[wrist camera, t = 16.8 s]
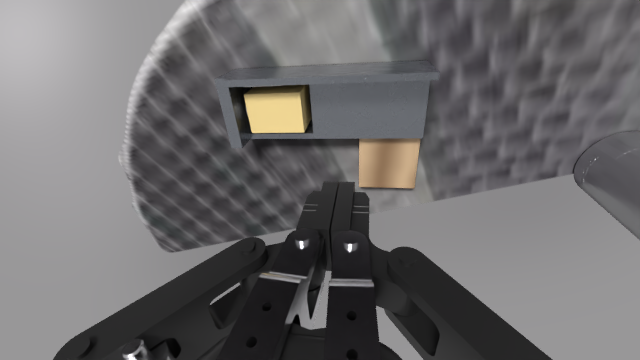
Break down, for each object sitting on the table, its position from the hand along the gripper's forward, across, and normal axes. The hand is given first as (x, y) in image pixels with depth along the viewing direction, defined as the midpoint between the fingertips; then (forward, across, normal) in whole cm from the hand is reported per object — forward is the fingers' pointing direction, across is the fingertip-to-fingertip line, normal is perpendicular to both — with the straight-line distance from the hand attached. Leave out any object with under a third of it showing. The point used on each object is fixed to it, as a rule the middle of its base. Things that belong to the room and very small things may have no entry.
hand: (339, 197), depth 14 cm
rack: (+26, +4, +3) cm, 27 cm away
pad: (+26, -4, +11) cm, 29 cm away
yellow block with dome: (+24, +7, +3) cm, 25 cm away
